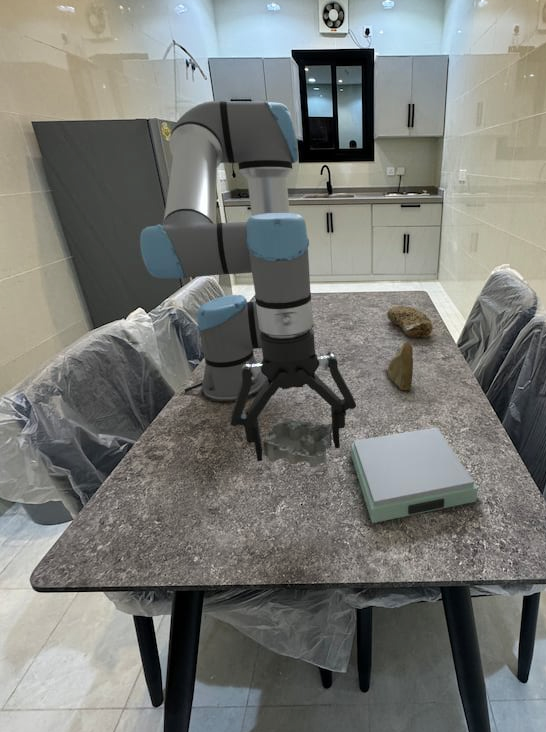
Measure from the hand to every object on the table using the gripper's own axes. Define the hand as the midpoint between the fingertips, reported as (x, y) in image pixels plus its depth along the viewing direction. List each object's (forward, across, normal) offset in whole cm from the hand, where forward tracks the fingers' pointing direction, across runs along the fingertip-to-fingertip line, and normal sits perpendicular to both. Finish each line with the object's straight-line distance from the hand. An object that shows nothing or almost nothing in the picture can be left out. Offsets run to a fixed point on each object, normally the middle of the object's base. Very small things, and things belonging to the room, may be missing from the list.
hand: (298, 449), depth 63 cm
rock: (+10, +28, +32) cm, 43 cm away
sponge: (+10, +43, +65) cm, 78 cm away
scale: (+9, +19, -2) cm, 21 cm away
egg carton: (0, 0, 0) cm, 0 cm away
